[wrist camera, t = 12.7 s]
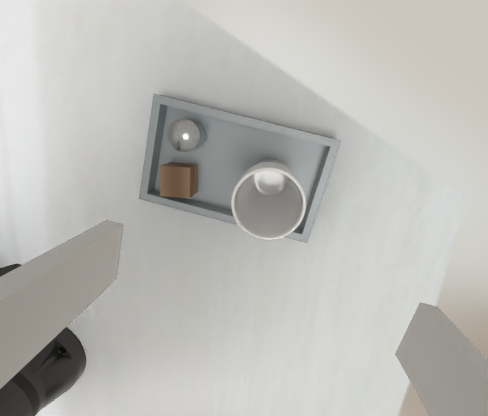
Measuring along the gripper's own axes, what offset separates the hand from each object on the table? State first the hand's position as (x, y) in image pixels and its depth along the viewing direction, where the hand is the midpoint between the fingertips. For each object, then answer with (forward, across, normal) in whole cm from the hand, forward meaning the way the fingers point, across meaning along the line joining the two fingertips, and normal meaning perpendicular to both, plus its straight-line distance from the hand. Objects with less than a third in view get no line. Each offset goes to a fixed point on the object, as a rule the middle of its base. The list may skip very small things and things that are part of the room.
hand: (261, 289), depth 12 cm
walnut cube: (+28, -12, -2) cm, 31 cm away
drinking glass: (+28, 0, 0) cm, 28 cm away
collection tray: (+29, -5, 0) cm, 29 cm away
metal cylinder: (+28, -12, +4) cm, 31 cm away
